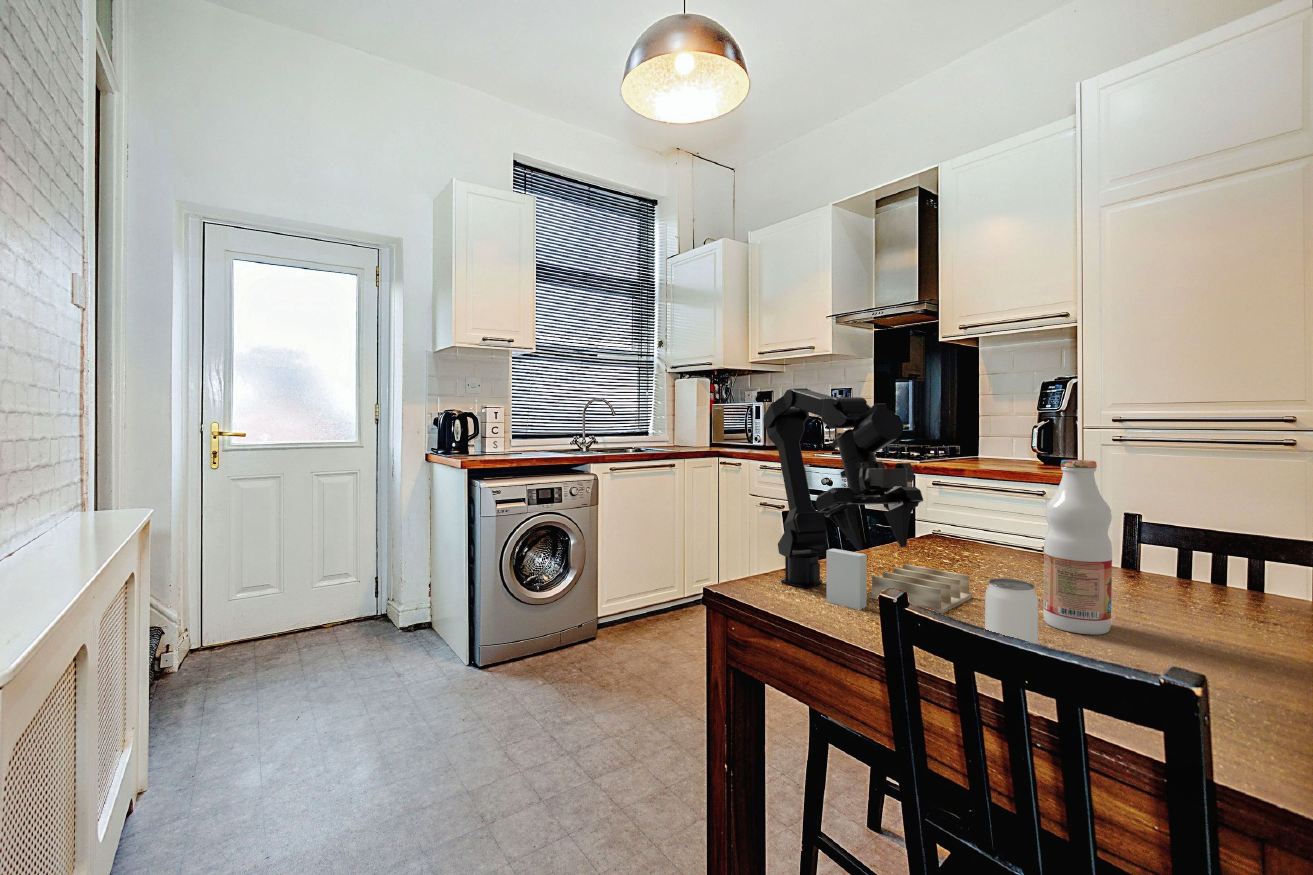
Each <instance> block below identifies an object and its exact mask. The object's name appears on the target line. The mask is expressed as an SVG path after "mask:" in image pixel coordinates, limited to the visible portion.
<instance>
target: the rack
mask: <svg viewBox="0 0 1313 875" xmlns="http://www.w3.org/2000/svg"><path fill="white" fill-rule="evenodd" d="M892 572H893V573H892ZM892 572H888V571H882V577H881V576H878V575H872V576H871V577H872V579H871V592H869V593H868V598H869V597H870V598H869V599H872V598H874V599H875V600H877V596H878V595H879V594H880V592H881V591H882V590H884V589H887V588H895V589H899V590H902V591H905V592H907V593H908V597H909V603H910V604H912V605H914V606H919V607H923V608H928V609H931V610H934V611H936V612H939V613H943V614H945V613H947V612H948V610H949V611H950V610H953V609H954V608H956V607H958V606H960V605H962V604H963V603H965V602H967V601H969V600H971V599H972V598H973V595H974V594H973V593H971V592H970V575H968V574H963V573H956V572H950V571H946V570H940V569H936V568H930V567H924V566H918V565H913V564H906V563H903V564H902V568H899V567H893V570H892ZM874 599H873V600H874ZM952 608H953V609H952ZM943 614H942V615H943Z"/></svg>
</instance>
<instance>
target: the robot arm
mask: <svg viewBox="0 0 1313 875" xmlns="http://www.w3.org/2000/svg"><path fill="white" fill-rule="evenodd" d="M810 414H813V415H816V416H818V417H820V418H821V422H822V423H823V424H824V425H826V427H829V428H830V429H846V430H845V431H844V432H837V433H836V436H835V438H834V440H832V443H831V446H832V448H838V449H839V453H840V457H841V462H842V465H843V469H844V470H842V471H840V473H839V474H840V477H841V478H843V479H844V478H845V479H846V482H847V486H848V487H831V488H829V489H828V490H826V491H825V492H822V493H820V494H819V495H817V497H816V501H815V506H816V509H815V507H814V506H813V504H812V498H811V493H810V488H809V483H808V479H807V474H806V468H805V462H804V458H803V453H802V449H801V443H800V442H801V441H802V437H803V435H804V432H805V423H806V422H807V421H808V419H809V418H810ZM763 426H764V427H765V429H766V433H767V438H768V439H769V440H770V441H771V442H772V443H773V444H774V445H775V447H776V448H777V451H778V455H779V462H780V467H781V472H782V478H783V484H784V489H785V495H786V499H787V505H788V514H787V515H786V519H785V521H784V524H783V525H784V532H783V534H782V535H781V537H780V539H779V540H778V542H777V549H778V554H779V555H781V556H783V557H784V558H785V559H784V561H785V562H784V563H785V567H784V572H785V573H784V574H785V577H784V578H783V579H781V580H780V584H781V583H782V584H785V585H790V586H793V587H798V588H801V589H809V588H812V587H815V586H818V585H821V584H823V580H822V579H821V574H820V573H821V564H820V563H819V556H825V554H826V549H827V546H828V541H829V533H828V528H827V525H826V518H829V519H830V520H831V521H832V522H833V524H835V525H836V526H837V528H838V529H840V531H841V532H842V533H843V534H844V536H845V537H846V538H847V540H849V542H850V543H851V544H852V546H853V547H854V548H855V549H856V550H857V551H860V550H862V549H863V541H862V537H861V533H860V528H859V525H858V523H859V522H858V520H857V512H858V506H863V505H867V506H868V505H883V508H885V509H886V510H887V511H885V512H884V515H885V517H886V519H887V522H888V524H889V527H890V529H891V530H892V533H893V535H894V537H895V540H896V541H897V543H898V545H899V547H900V548H905V547H907V544H908V534H909V533H908V531H909V522H910V517H911V514H912V512H913V511H914V509H915V508H918V507H919V504H920V503H922V502H924V498H923V495H922V491H921V489H919V488H918V487H917V486H908V482H913V481H914V480H915V471H914V468H913V466H912V464H911V462H897V463H896V464H895V466H894V468H889V467H888V468H887V467H886V466H885V463H884V462H883V461H880V460H879V461H877V456H876V453H875V452H879V451H881V450H882V449H883V448H885V447H886V446H888V445H890V444H891V443H893V442H894V441H896V440H897V439H899V438H900V437H901V436H902V435H903V431H904V423H903V421H902V420H901V419H900V417H899V416H898V415H897V414H896V413H895V412H894V411H892V410H890V409H888V406H887V403H874V404H873V405H872V406H870V405H869V404H868V402H867V400H866V399H865V398H864V397H861V396H860V397H859V396H857V397H856V396H855V397H853V396H851V397H850V396H849V397H848V396H846V397H843V396H842V397H841V396H840V397H839V396H837V397H836V396H831V395H827V394H824V393H822V392H821V393H820V392H818V391H817V392H816V391H814V390H811V389H809V388H806V387H804V388H803V387H801V388H799V387H798V388H796V387H795V388H793V387H792V388H789V389H787V390H785V392H784V394H783V395H782V396H781V397H778V399H776V400H775V401H773V402H772V403H770V405H769V406H768V408H767V410H766V411H765V412H764V415H763ZM894 487H897V488H895V489H894ZM888 491H890V492H888ZM886 492H887V493H886ZM825 517H826V518H825Z"/></svg>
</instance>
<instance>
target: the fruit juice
mask: <svg viewBox="0 0 1313 875" xmlns="http://www.w3.org/2000/svg"><path fill="white" fill-rule="evenodd" d="M1097 466H1098V465H1097V461H1096V460H1086V459H1062V460H1061V462H1060V470H1061V471H1062V476H1061V477H1062V478H1061V480H1060V483H1059V484H1058V487H1057V490H1056V492H1055V494H1054V495H1053V496H1052V497H1051V498H1050V499H1049V501H1047V504H1046V507H1045V512H1044V513H1045V518H1046V522H1047V525H1048V529H1047V533H1046V534H1045V535H1044V543H1043V598H1042V599H1043V603H1042V604H1043V606H1042V607H1043V608H1042V610H1043V611H1042V612H1043V613H1042V614H1043V619H1044V621H1045V623H1046V624H1047V625H1049V626H1050V627H1052V628H1054V629H1058V630H1061V631H1065V632H1069V633H1074V634H1080V635H1093V636H1094V635H1095V636H1096V635H1104V634H1107V633H1109V632H1110V630H1111V625H1112V580H1113V573H1112V572H1113V547H1112V542H1111V541H1112V540H1111V538H1110V537H1109V528H1110V526H1111V522H1112V518H1113V516H1112V515H1113V514H1112V509H1111V507H1110V506H1109V504H1108V503H1107V502H1106V501H1105V499H1104V498H1103V496H1102V494H1101V493H1100V490H1099V488H1098V484H1097V482H1096V478H1095V472H1096V471H1097Z"/></svg>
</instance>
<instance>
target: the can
mask: <svg viewBox="0 0 1313 875" xmlns="http://www.w3.org/2000/svg"><path fill="white" fill-rule="evenodd" d="M988 583H989V584H988V586H987V588H986V590H985V597H984V605H985V606H984V630H985V629H986V630H989V631H992V632H996V633H1000V634H1002V635H1005V636H1010V637H1014V638H1019V639H1022V640H1025V641H1029V642H1033V643H1037V644H1038V645H1039V597H1038V595H1037V591H1035V587H1036V586H1035V584H1034V583H1031V582H1029V581H1025V580H1020V579H1015V578H1005V577H1004V578H1003V577H1002V578H1001V577H1000V578H999V577H998V578H997V577H996V578H992V579H989V580H988Z"/></svg>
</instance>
